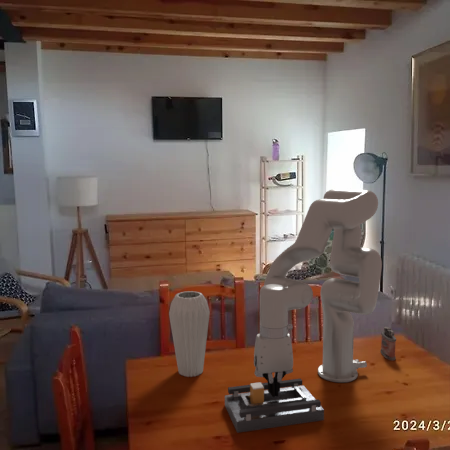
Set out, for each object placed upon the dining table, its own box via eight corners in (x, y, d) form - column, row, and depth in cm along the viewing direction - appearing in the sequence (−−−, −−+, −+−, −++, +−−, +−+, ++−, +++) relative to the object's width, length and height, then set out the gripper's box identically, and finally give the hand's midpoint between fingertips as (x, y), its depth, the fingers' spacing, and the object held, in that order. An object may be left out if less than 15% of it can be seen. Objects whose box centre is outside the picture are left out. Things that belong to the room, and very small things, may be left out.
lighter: (378, 351, 169) (379, 324, 168) (387, 350, 170) (388, 324, 168) (388, 360, 161) (389, 332, 160) (397, 359, 162) (398, 332, 160)
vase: (205, 382, 147) (204, 301, 143) (165, 379, 149) (163, 299, 146) (214, 364, 160) (213, 289, 156) (177, 361, 162) (175, 288, 159)
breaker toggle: (260, 400, 129) (260, 382, 128) (264, 405, 126) (263, 387, 125) (250, 401, 128) (250, 383, 128) (253, 407, 125) (253, 388, 125)
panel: (303, 394, 138) (303, 379, 137) (323, 420, 125) (324, 402, 124) (224, 405, 133) (224, 388, 132) (237, 432, 119) (237, 414, 119)
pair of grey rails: (300, 385, 138) (300, 378, 137) (320, 410, 124) (321, 402, 124) (227, 394, 133) (227, 387, 132) (241, 421, 119) (241, 413, 119)
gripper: (294, 323, 131) (294, 384, 133) (243, 328, 128) (244, 391, 130) (305, 332, 124) (304, 397, 126) (250, 338, 120) (251, 404, 123)
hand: (273, 394), depth 128 cm, fingers closed
